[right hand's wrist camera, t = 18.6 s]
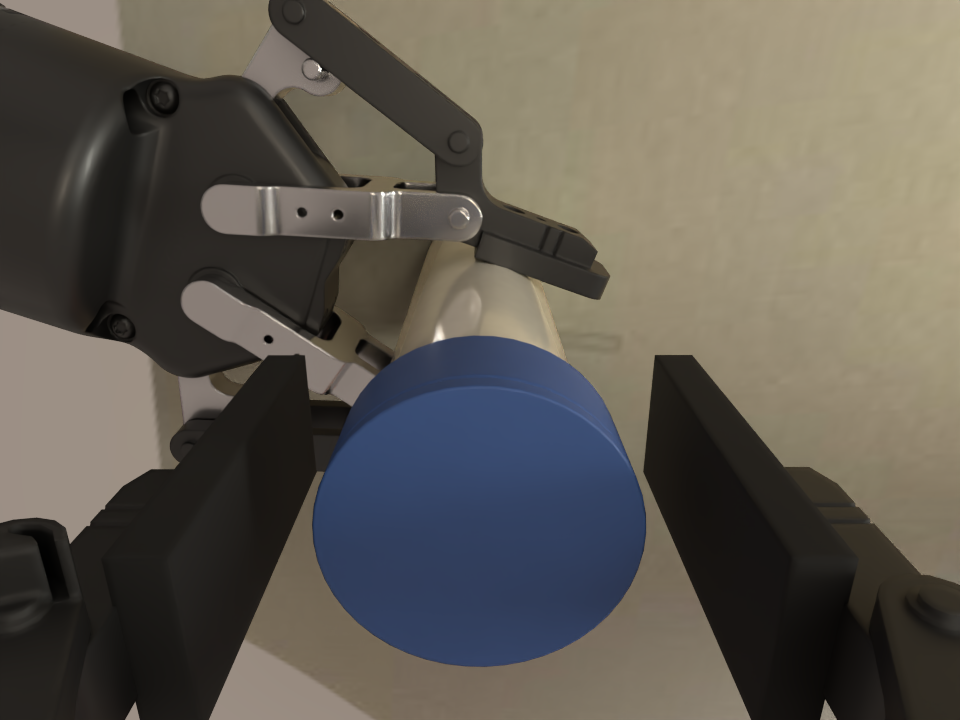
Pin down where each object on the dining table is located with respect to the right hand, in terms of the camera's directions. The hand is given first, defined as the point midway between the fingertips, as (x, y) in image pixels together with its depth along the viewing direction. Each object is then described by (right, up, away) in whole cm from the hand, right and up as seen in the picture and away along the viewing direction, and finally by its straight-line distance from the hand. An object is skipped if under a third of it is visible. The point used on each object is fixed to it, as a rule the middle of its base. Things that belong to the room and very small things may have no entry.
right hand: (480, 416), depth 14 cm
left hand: (+2, +1, +6) cm, 7 cm away
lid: (0, -1, -4) cm, 4 cm away
